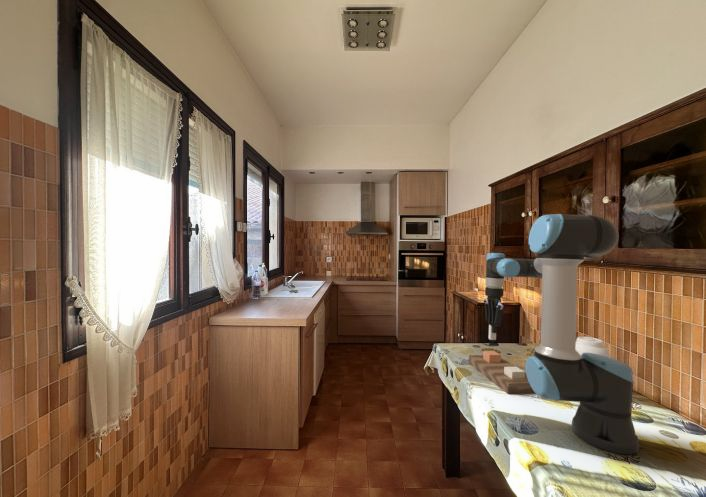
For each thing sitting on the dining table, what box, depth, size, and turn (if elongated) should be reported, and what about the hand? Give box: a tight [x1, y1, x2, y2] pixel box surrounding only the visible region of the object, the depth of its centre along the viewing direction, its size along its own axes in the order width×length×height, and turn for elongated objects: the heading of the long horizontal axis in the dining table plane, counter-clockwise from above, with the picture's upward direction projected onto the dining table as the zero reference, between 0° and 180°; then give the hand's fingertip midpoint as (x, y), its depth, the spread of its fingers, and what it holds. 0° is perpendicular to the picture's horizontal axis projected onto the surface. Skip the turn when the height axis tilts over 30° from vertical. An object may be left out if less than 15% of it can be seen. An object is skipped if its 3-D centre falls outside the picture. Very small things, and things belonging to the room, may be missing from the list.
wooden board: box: [468, 354, 537, 395], centre depth 131 cm, size 30×14×4 cm, turn 7°
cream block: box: [504, 366, 526, 379], centre depth 123 cm, size 5×5×4 cm
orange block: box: [482, 350, 502, 363], centre depth 139 cm, size 5×5×4 cm
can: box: [575, 335, 611, 358], centre depth 122 cm, size 12×12×20 cm
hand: (492, 339), depth 139 cm, fingers closed
